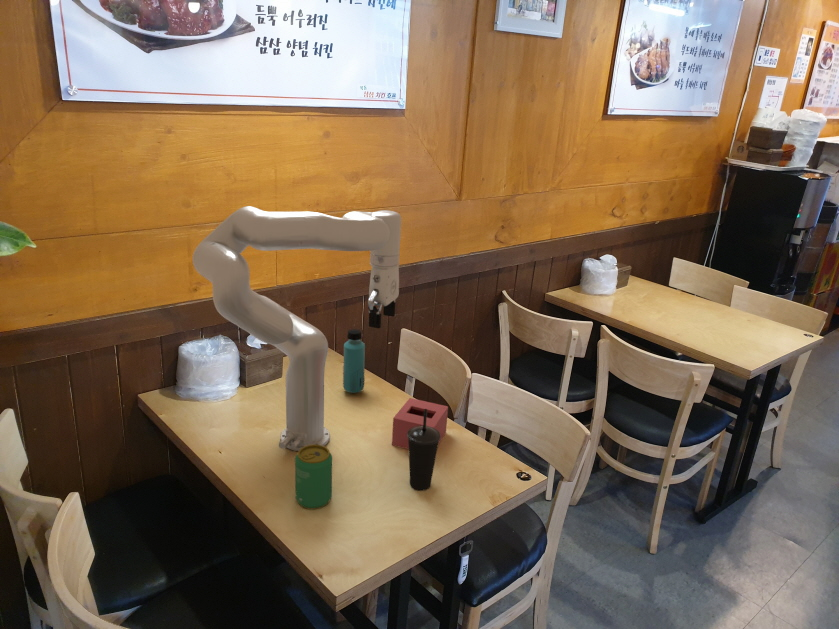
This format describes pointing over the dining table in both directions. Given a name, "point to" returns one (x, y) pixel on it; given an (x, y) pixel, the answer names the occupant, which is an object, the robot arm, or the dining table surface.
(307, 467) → the beverage can
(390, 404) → the dining table surface
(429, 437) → the drinking cup
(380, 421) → the dining table surface
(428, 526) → the dining table surface
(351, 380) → the beverage bottle
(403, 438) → the red slotted block
